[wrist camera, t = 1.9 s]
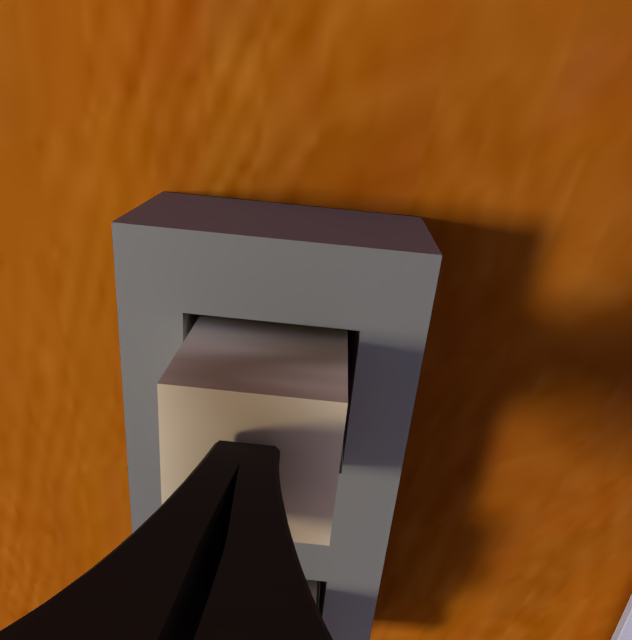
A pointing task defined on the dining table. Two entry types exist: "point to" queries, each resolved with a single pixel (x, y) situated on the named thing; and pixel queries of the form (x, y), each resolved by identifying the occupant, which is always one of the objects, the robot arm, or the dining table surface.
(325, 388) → the near peg
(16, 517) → the dining table surface
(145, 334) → the grey peg hole board
